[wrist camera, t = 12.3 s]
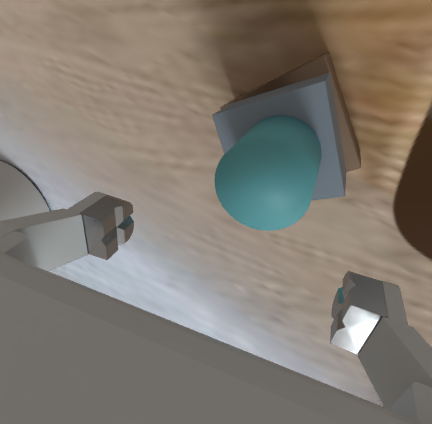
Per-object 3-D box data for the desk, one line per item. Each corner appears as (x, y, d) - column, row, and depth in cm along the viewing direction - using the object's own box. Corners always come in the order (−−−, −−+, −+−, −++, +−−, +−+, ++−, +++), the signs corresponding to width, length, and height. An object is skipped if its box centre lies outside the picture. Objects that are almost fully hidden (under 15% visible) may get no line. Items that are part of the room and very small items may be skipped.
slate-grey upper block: (256, 186, 25) (242, 209, 22) (231, 103, 23) (212, 115, 19) (346, 171, 22) (344, 196, 19) (329, 72, 19) (324, 80, 16)
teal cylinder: (260, 199, 21) (239, 238, 17) (230, 134, 20) (198, 160, 16) (333, 177, 19) (327, 218, 15) (304, 100, 17) (289, 122, 13)
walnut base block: (270, 177, 29) (260, 196, 26) (236, 97, 26) (220, 107, 23) (360, 149, 25) (361, 167, 22) (329, 51, 22) (325, 55, 19)
